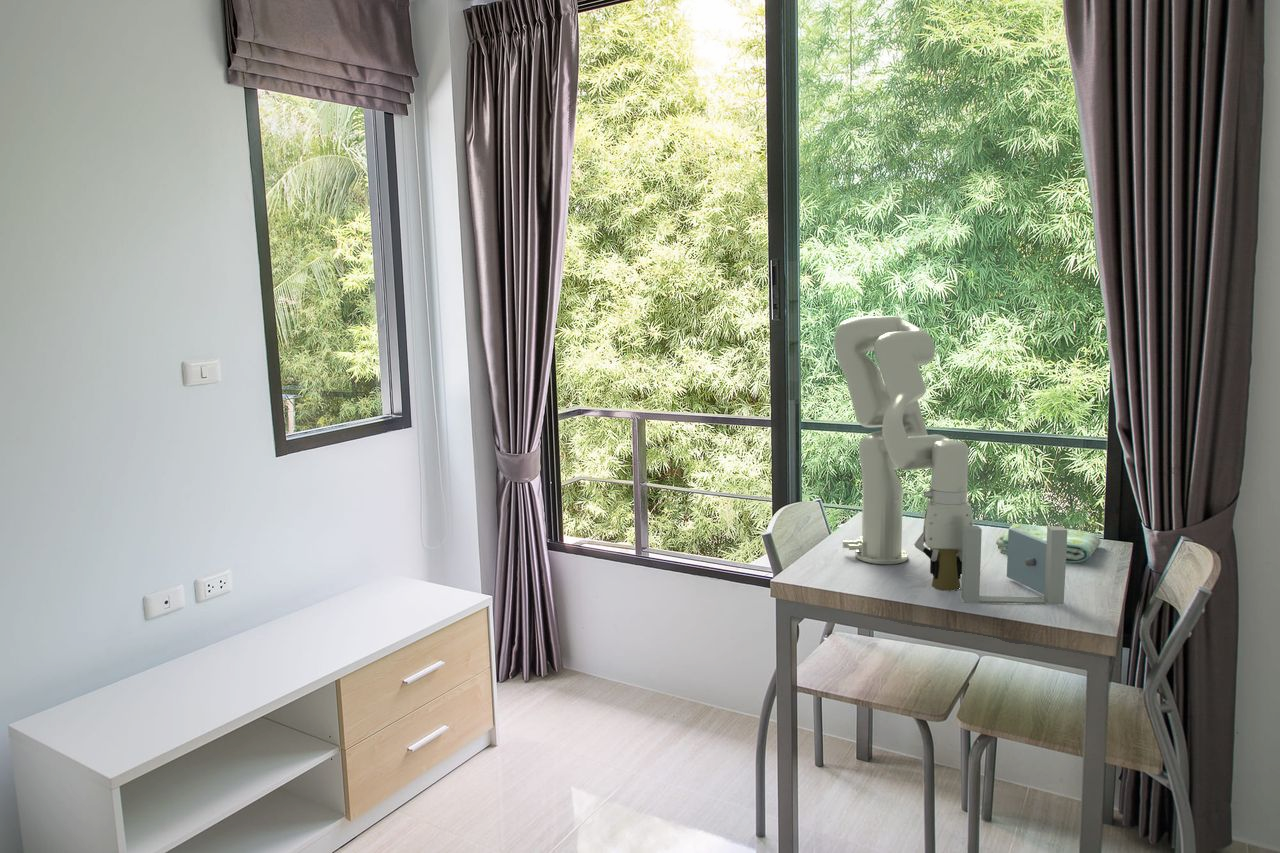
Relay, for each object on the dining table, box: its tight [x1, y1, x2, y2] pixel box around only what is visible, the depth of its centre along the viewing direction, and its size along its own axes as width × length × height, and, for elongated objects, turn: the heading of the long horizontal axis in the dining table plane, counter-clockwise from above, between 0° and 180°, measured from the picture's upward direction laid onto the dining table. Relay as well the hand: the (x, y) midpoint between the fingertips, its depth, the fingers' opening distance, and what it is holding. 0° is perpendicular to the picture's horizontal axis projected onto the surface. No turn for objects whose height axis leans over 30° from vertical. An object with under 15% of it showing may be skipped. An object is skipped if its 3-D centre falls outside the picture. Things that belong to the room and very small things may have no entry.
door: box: [1006, 528, 1047, 596], centre depth 194 cm, size 13×3×11 cm, turn 13°
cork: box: [931, 549, 961, 592], centre depth 198 cm, size 6×6×11 cm
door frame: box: [960, 525, 1068, 605], centre depth 187 cm, size 20×3×16 cm, turn 83°
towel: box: [995, 523, 1101, 564], centre depth 223 cm, size 18×21×5 cm
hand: (946, 576), depth 198 cm, fingers closed on cork, 4 cm apart
